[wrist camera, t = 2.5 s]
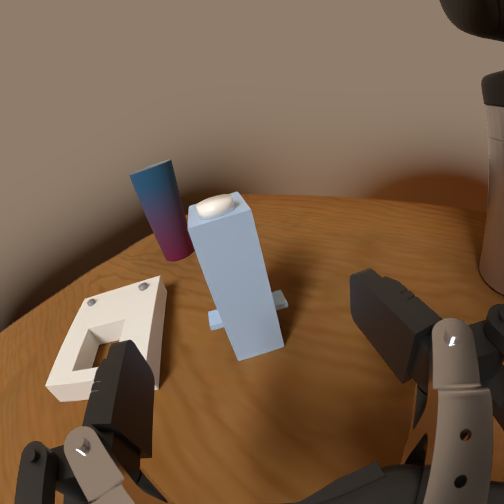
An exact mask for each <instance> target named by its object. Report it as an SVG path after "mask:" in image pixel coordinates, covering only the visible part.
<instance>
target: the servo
mask: <svg viewBox="0 0 504 504" xmlns="http://www.w3.org/2000/svg"><path fill="white" fill-rule="evenodd" d="M188 232H189V235H190V238H191V240H192V243H193V246H194V249H195V252H196V254H197V257H198V260H199V263H200V265H201V268H202V271H203V274H204V276H205V279H206V282H207V284H208V287H209V290H210V292H211V295H212V297H213V300H214V302H215V305H216V308H217V309H216V310H213V311H210V312H208V314H209V323H210V328H211V330H216V329H219V328H222V327H224V328H225V330H226V333H227V335H228V337H229V340H230V342H231V345H232V347H233V349H234V352H235V354H236V356H237V359H238V361H241V360H244V359H248V358H251V357H254V356H257V355H261V354H264V353H267V352H270V351H273V350H276V349H279V348H282V347H284V342H283V338H282V334H281V330H280V326H279V322H278V317H277V313H276V311H277V310H280V309H283V308H286V307H288V303H287V301H286V299H285V297H284V295H283V293H282V291H281V290H278V291H275V292H271V288H270V284H269V280H268V276H267V272H266V268H265V264H264V260H263V256H262V252H261V248H260V244H259V240H258V236H257V232H256V228H255V224H254V219H253V216H252V212H251V209H250V208H249V206H248V205H247V204H246V202H245V201H244V200H243V198H242V197H241V196H240V194H239V193H238V192H235V193H231V194H223V195H218V196H214V197H211V198H208V199H205V200H203V201H201V202H200V203H198V204H195V205H192V206H189V214H188Z"/></svg>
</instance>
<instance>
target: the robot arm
mask: <svg viewBox="0 0 504 504" xmlns="http://www.w3.org/2000/svg"><path fill="white" fill-rule="evenodd" d="M440 3H441V6H442V8H443V10H444V12H445V14H446V15H447V17H448V18H449V20H450V21H451V22H452V23H453V24H454V25H455V26H456V27H457V28H459V29H460V30H462V31H464V32H466V33H469V34H471V35H475V36H478V37H481V38H488V39H492V40H498V41H502V42H504V0H440ZM481 86H482V93H483V99H484V104H486V105H485V113H486V123H487V134H488V152H489V186H488V204H487V215H486V225H485V232H484V239H483V246H482V252H481V258H480V263H479V271H480V274H481V276H482V277H483V279H484V280H485V282H486V283H487V284H488V285H489V286H490V287H492V288H493V289H494V290H496V291H497V292H499V293H501V294H503V295H504V71H500V72H496V73H492V74H489V75H486V76H485V77H484V78H483V79H482V83H481ZM350 308H351V314H352V317H353V320H354V322H355V323H356V325H357V326H358V327H359V329H360V330H361V331H362V332H363V334H364V335H365V336H366V337H367V339H368V340H369V341H370V343H371V344H372V345H373V346H374V348H375V349H376V350H377V352H378V353H379V354H380V355H381V357H382V358H383V359H384V361H385V362H386V363H387V364H388V366H389V367H390V368H391V370H392V371H393V372H394V374H395V375H396V376H397V378H398V379H399V380H400V382H401V383H402V384H403V383H404V382H406V381H408V380H410V379H411V378H413V379H414V380H415V382H416V385H415V390H414V400H413V409H412V417H411V424H410V431H409V435H408V439H407V442H406V444H405V447H404V451H403V454H402V459H401V463H400V464H398V465H389V466H383V467H380V466H379V464H378V462H377V461H376V462H374V463H372V464H370V465H368V466H366V467H364V468H362V469H360V470H357V471H355V472H353V473H351V474H348V475H346V476H343V477H341V478H338V479H337V480H335V481H334V482H332V483H331V484H329V485H327V486H326V487H324V488H323V489H321V490H319V491H318V492H316V493H314V494H313V495H311V496H309V497H307V498H306V499H304V500H302V501H300V502H296V503H284V504H504V482H497V481H490V478H491V468H492V454H493V416H494V417H495V419H496V420H497V422H498V423H499V424H500V426H501V427H502V429H503V430H504V365H503V364H502V363H503V361H504V304H497V305H494V306H492V307H491V308H490V309H489V312H488V315H487V317H486V320H484V321H481V322H477V323H474V324H471V325H468V324H466V323H465V322H463V321H461V320H459V319H455V318H447V319H442V318H441V317H439V316H438V315H437V314H436V313H435V312H434V311H433V310H432V309H430V308H429V307H428V306H427V305H426V304H425V303H423V302H422V301H421V300H420V299H419V298H418V297H415V295H414V294H413V293H412V292H411V291H408V290H407V288H406V287H405V286H403V285H402V284H401V283H400V282H399V281H396V280H394V279H391V278H388V277H383V278H382V277H381V276H380V275H378V274H377V273H376V272H375V271H374V270H372V269H370V268H369V269H366V270H363V271H361V272H358V273H355V274H352V275H351V276H350ZM154 389H155V379H154V375H153V372H152V369H151V368H150V366H149V364H148V363H147V362H146V360H145V358H144V357H143V355H142V354H141V352H140V351H139V349H138V348H137V346H136V344H135V343H134V342H133V341H132V340H126V341H121V342H117V343H112V344H111V346H110V349H109V352H108V356H107V359H104V360H103V361H102V363H101V364H100V366H99V367H98V368H97V370H96V373H95V377H94V383H93V384H92V388H91V393H90V396H89V400H88V404H87V408H86V412H85V416H84V421H83V425H82V426H81V427H78V428H76V429H74V430H73V431H71V432H70V433H69V435H68V436H67V438H66V440H65V443H64V445H62V446H59V447H55V448H52V449H49V448H47V447H46V446H45V445H44V444H42V443H41V442H39V441H33V442H31V443H29V444H28V445H27V446H26V447H25V448H24V450H23V452H22V456H21V461H20V466H19V472H18V478H17V486H16V494H15V504H55V490H56V491H58V492H60V493H62V494H64V504H175V503H174V502H173V501H172V500H171V499H170V498H169V497H168V496H167V495H166V494H165V493H164V492H163V491H162V490H161V489H160V488H159V486H158V485H157V484H156V483H155V482H154V481H153V480H152V478H151V477H150V476H149V475H148V474H147V473H146V471H145V470H144V469H143V468H142V467H141V466H140V458H152V426H153V404H154Z"/></svg>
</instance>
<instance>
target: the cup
mask: <svg viewBox="0 0 504 504" xmlns="http://www.w3.org/2000/svg"><path fill="white" fill-rule="evenodd" d="M129 176H130V178H131V181H132V183H133V186H134V188H135V191H136V193H137V196H138V198H139V200H140V202H141V205H142V207H143V209H144V212H145V214H146V216H147V219H148V221H149V223H150V226H151V228H152V230H153V232H154V234H155V237H156V239H157V241H158V243H159V245H160V247H161V249H162V251H163V254H164V256H165V258H166V259H167V260H168V261H177V260H180V259H183V258H185V257H187V256H189V255H190V254H191V253H192V252H193V251H194V246H193V243H192V240H191V238H190V235H189V232H188V225H187V221H186V217H185V214H184V210H183V206H182V202H181V198H180V194H179V190H178V186H177V182H176V178H175V174H174V170H173V165H172V161H171V159H170V160H166V161H163V162H159V163H156V164H153V165H151V166H148V167H145V168H143V169H140V170H138V171H136V172H133V173H132V174H130V175H129Z"/></svg>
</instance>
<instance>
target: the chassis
mask: <svg viewBox="0 0 504 504" xmlns="http://www.w3.org/2000/svg"><path fill="white" fill-rule="evenodd" d="M166 298H167V290H166V288H165V285H164V283H163V281H162V279H161V277H160V276H157V277H154V278H151V279H147V280H144V281H141V282H138V283H134V284H131V285H128V286H125V287H122V288H118V289H115V290H112V291H109V292H106V293H102V294H99V295H96V296H93V297H90V298H86V299H85V300H84V302H83V304H82V306H81V308H80V310H79V311H78V313H77V315H76V317H75V319H74V321H73V323H72V325H71V328H70V330H69V332H68V334H67V336H66V338H65V340H64V342H63V345H62V347H61V349H60V351H59V354H58V356H57V358H56V361H55V363H54V365H53V368H52V370H51V373H50V375H49V378H48V381H47V383H46V387H47V388H48V389H49V391H50V392H51V393H52V394H53V395H54V396H55V397H56V398H57V399H58V400H59V401H60V402H64V401H78V400H89V396H90V393H91V388H92V384H93V383H94V377H95V373H96V370H97V368H98V367H95V368H92V366H93V363H94V360H95V356H96V353H97V350H98V347H99V345H100V344H104V343H109V342H113V341H117V340H120V341H119V342H121V341H126V340H132V341H133V342H134V343H135V344H136V346H137V348H138V349H139V351H140V352H141V354H142V355H143V357H144V358H145V360H146V362H147V363H148V364H149V366H150V368H151V369H152V372H153V375H154V379H155V389H154V390H159V376H160V360H161V347H162V336H163V325H164V316H165V307H166Z"/></svg>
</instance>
